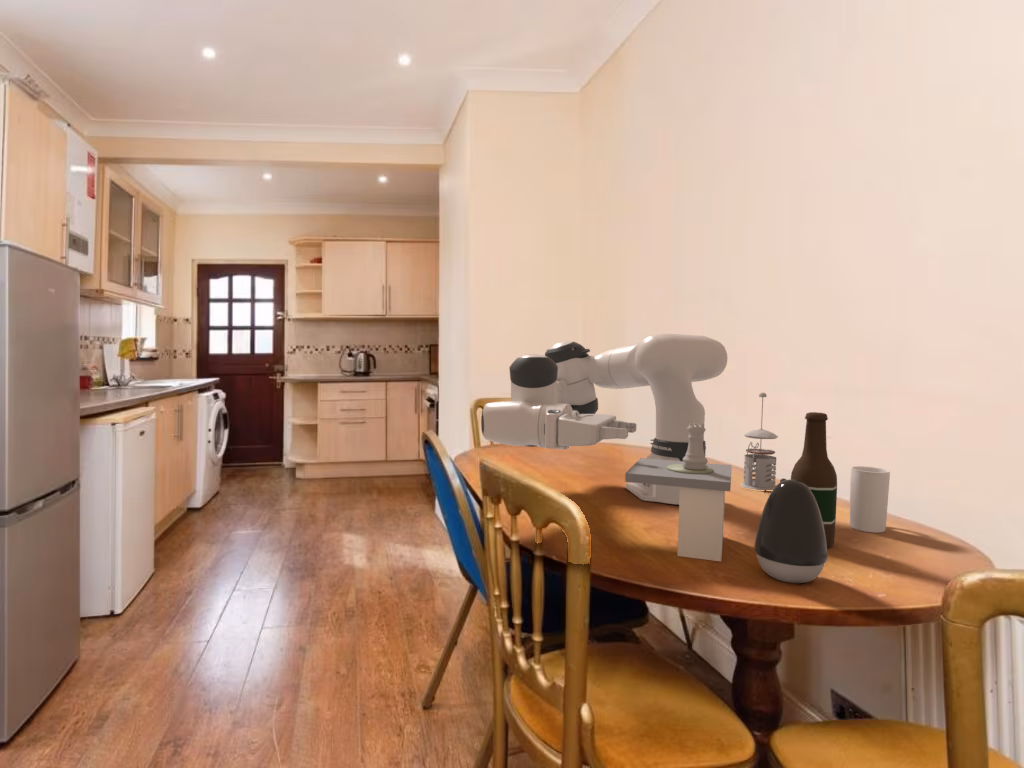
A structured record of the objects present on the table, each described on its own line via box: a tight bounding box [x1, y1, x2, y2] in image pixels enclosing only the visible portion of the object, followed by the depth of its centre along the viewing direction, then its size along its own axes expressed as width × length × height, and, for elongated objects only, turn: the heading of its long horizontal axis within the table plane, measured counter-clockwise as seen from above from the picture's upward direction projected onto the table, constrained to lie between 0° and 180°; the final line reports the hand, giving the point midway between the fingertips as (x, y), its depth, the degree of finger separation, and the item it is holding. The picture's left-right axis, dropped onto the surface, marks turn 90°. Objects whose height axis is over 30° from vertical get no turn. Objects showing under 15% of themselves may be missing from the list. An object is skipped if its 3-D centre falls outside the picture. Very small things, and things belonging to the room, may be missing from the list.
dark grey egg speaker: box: [753, 478, 828, 584], centre depth 93 cm, size 10×10×15 cm
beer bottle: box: [790, 411, 838, 550], centre depth 111 cm, size 8×8×24 cm
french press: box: [739, 392, 779, 490], centre depth 158 cm, size 10×12×25 cm
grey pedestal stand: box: [624, 457, 733, 562], centre depth 109 cm, size 17×17×14 cm
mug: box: [849, 465, 891, 534], centre depth 123 cm, size 10×7×12 cm, turn 150°
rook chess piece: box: [682, 423, 708, 471], centre depth 108 cm, size 4×4×8 cm
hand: (631, 430), depth 111 cm, fingers open, 8 cm apart
